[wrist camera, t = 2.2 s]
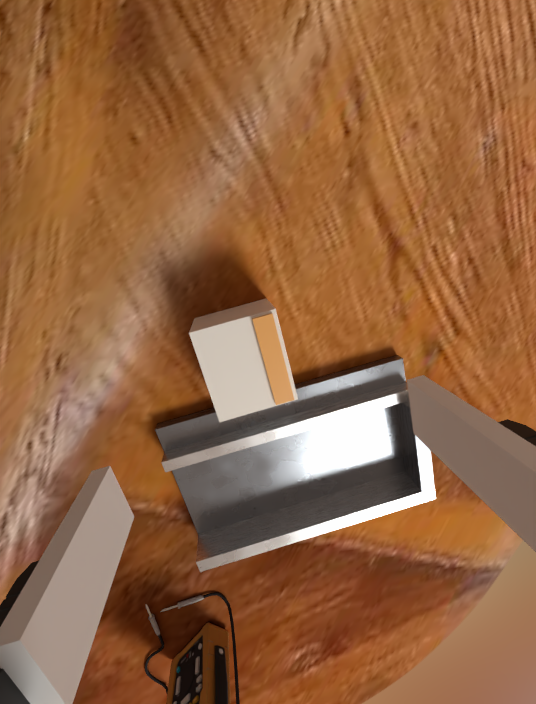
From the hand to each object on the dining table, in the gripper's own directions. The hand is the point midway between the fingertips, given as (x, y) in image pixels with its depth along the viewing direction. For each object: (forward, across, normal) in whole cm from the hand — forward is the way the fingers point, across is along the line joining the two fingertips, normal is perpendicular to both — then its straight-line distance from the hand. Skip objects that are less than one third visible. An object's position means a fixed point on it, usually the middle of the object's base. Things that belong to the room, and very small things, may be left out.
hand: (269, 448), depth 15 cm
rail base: (+15, +2, -12) cm, 19 cm away
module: (+15, 0, 0) cm, 15 cm away
